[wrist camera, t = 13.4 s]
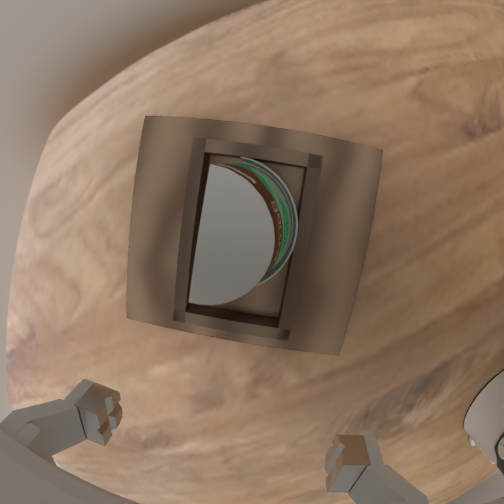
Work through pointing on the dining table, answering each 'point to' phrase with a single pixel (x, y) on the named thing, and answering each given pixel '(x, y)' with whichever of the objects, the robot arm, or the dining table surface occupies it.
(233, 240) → the food container
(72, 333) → the dining table surface
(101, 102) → the dining table surface
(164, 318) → the caddy board
